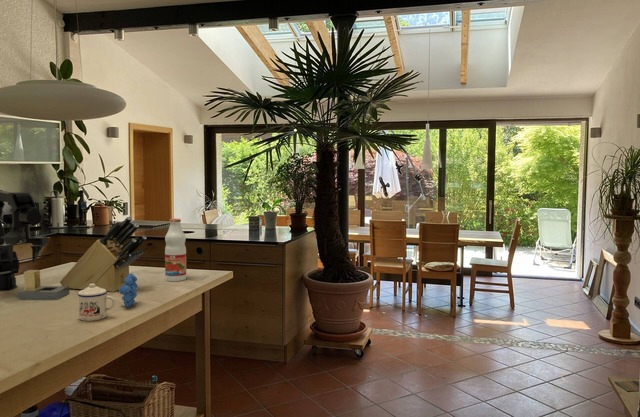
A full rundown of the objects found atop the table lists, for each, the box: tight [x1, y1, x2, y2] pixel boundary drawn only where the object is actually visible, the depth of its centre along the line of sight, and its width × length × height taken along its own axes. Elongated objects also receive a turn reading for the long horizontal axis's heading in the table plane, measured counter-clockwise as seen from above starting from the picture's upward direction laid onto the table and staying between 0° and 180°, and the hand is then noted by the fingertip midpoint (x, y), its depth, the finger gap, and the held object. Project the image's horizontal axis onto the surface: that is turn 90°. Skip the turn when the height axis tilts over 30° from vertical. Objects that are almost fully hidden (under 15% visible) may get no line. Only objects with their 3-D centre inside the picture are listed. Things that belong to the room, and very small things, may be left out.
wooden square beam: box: [23, 269, 41, 290], centre depth 201 cm, size 4×4×7 cm
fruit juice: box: [164, 218, 187, 282], centre depth 233 cm, size 9×9×28 cm
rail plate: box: [17, 285, 71, 301], centre depth 202 cm, size 15×10×3 cm, turn 91°
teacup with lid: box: [77, 284, 116, 322], centre depth 174 cm, size 12×9×12 cm
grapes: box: [117, 272, 139, 308], centre depth 189 cm, size 12×7×12 cm, turn 3°
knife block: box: [59, 215, 147, 293], centre depth 215 cm, size 11×35×31 cm, turn 78°
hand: (22, 262), depth 205 cm, fingers open, 9 cm apart
